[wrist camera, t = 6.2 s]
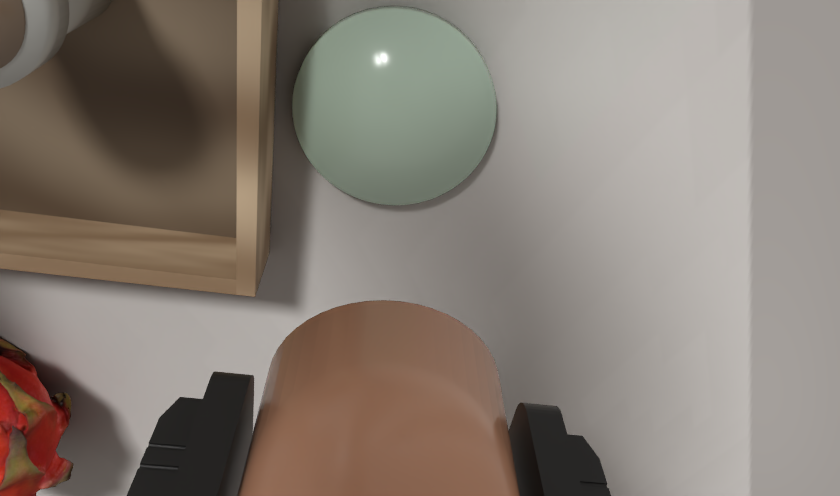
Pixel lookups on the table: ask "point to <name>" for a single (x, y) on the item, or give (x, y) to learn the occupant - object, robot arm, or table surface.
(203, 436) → the robot arm
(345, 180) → the saucer
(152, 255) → the box
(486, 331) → the table surface
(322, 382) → the terracotta pot
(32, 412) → the dragon fruit
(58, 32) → the grey pot
